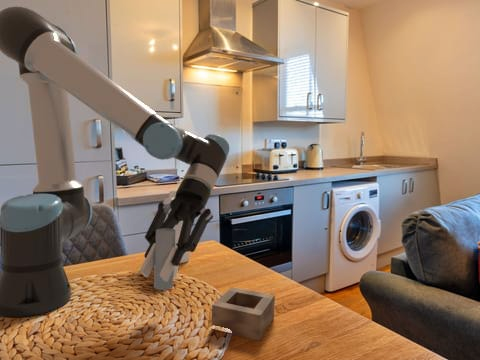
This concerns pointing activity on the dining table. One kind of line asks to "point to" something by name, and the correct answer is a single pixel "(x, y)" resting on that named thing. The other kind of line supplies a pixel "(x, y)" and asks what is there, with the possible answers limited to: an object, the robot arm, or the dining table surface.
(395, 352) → the dining table surface
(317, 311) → the dining table surface
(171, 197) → the milk
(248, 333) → the socket
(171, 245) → the grey cylinder
